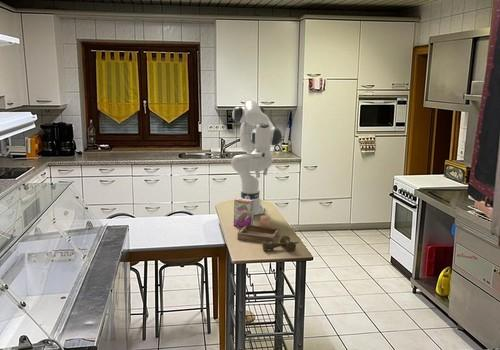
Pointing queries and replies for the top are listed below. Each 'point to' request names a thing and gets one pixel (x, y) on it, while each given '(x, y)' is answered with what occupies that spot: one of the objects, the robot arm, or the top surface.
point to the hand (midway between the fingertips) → (261, 176)
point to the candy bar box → (243, 212)
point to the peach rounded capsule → (265, 221)
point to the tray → (258, 233)
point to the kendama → (280, 244)
